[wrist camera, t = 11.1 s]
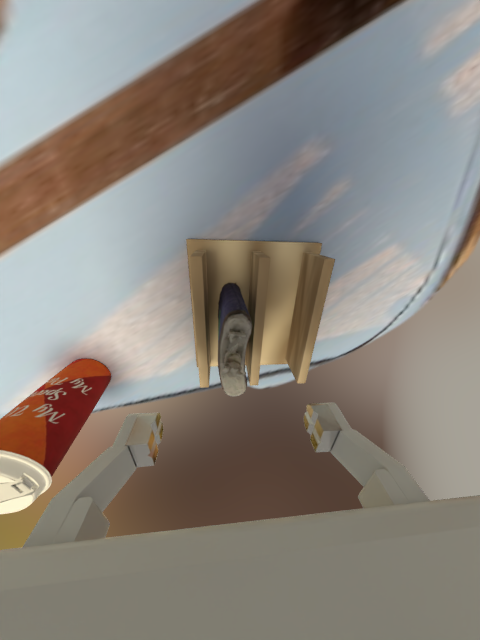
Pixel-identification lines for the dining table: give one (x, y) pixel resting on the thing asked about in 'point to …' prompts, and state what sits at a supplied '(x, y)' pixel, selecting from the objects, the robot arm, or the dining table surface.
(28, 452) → the paper cup
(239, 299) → the flask
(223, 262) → the rack
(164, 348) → the dining table surface
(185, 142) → the dining table surface
